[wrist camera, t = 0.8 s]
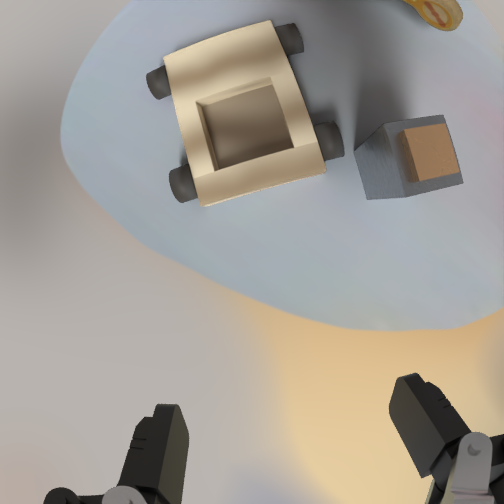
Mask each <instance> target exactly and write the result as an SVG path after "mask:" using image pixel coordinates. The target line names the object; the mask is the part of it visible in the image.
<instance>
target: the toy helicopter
mask: <svg viewBox="0 0 504 504" xmlns="http://www.w3.org/2000/svg"><path fill="white" fill-rule="evenodd" d="M402 1H404V2H406V3H407V4H409V5H411V6H412V7H413V8H414V9H415V10H416V11H417V12H418V14H419V15H420V16H421V17H422V19H423V20H425V21H426V22H427V23H428V24H430V25H431V26H433V27H435V28H437V29H439V30H442V31H453V30H455V29H456V28H457V27H458V26H459V24H460V23H461V21H462V19H463V12H462V9H461V7H460V5H459V4H458V3H457V1H456V0H402Z"/></svg>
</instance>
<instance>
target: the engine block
mask: <svg viewBox="0 0 504 504" xmlns="http://www.w3.org/2000/svg"><path fill="white" fill-rule="evenodd" d="M354 155H355V159H356V162H357V165H358V169H359V172H360V175H361V179H362V183H363V186H364V190H365V194H366V197H367V200H372V199H387V198H404V197H409V196H413V195H417V194H421V193H426V192H430V191H434V190H438V189H442V188H446V187H450V186H455V185H459V184H463V179H462V175H461V171H460V167H459V163H458V159H457V156H456V152H455V149H454V146H453V142H452V139H451V136H450V133H449V130H448V127H447V124H446V121H445V118H444V115H435V116H428V117H421V118H414V119H407V120H401V121H395V122H389V123H384V124H383V125H382V126H381V127H379V128H378V129H377V130H376V131H375V132H374V133H373V134H372V135H371V136H370V137H369V138H368V139H367V140H366V141H365V142H364V143H363V144H362V145H361V146H360V147H359V148H358V149H356V150H355V151H354Z"/></svg>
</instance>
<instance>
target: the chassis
mask: <svg viewBox="0 0 504 504" xmlns="http://www.w3.org/2000/svg"><path fill="white" fill-rule="evenodd" d="M303 51H304V47H303V42H302V39H301V36H300V33H299V31H298V29H297V27H296V25H295V24H294V23H292V24H287V25H283V26H278V27H275V29H274V27H273V25H272V23H271V21H270V20H268V21H264V22H260V23H256V24H253V25H249V26H246V27H242V28H239V29H236V30H232V31H229V32H226V33H223V34H220V35H217V36H214V37H211V38H209V39H206V40H203V41H201V42H198V43H195V44H193V45H190V46H188V47H185V48H183V49H181V50H178V51H176V52H174V53H171V54H169V55H167V56H165V57H163V58H164V62H165V65H164V66H162V67H160V68H158V69H156V70H153V71H151V72H149V73H147V75H146V80H147V84H148V87H149V89H150V91H151V93H152V94H153V96H154V97H155V98H156V99H158V100H160V99H162V98H164V97H166V96H169V95H171V94H172V97H173V101H174V106H175V110H176V114H177V118H178V122H179V126H180V130H181V134H182V138H183V142H184V146H185V150H186V154H187V158H188V161H189V164H186V165H184V166H181V167H178V168H176V169H173V170H171V171H170V173H169V182H170V186H171V190H172V192H173V194H174V196H175V198H176V199H177V200H178V201H179V202H180V203H184V202H187V201H189V200H192V199H195V198H198V199H199V202H200V206H211V205H214V204H217V203H220V202H224V201H227V200H230V199H233V198H237V197H240V196H244V195H247V194H250V193H254V192H257V191H261V190H264V189H268V188H271V187H275V186H278V185H282V184H286V183H289V182H293V181H297V180H300V179H304V178H308V177H312V176H316V175H320V174H324V173H325V172H326V166H325V163H324V161H326V160H330V159H335V158H339V157H343V156H344V145H343V141H342V137H341V134H340V131H339V129H338V127H337V125H336V123H335V122H334V121H331V122H326V123H322V124H318V125H314V126H312V123H311V120H310V117H309V114H308V111H307V109H306V106H305V103H304V100H303V98H302V95H301V92H300V90H299V87H298V84H297V82H296V79H295V77H294V74H293V72H292V69H291V67H290V64H289V62H288V59H287V57H286V56H288V55H292V54H296V53H301V52H303Z"/></svg>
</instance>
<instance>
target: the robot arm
mask: <svg viewBox="0 0 504 504" xmlns="http://www.w3.org/2000/svg"><path fill="white" fill-rule="evenodd" d="M389 414H390V417H391V419H392V421H393V423H394V425H395V427H396V429H397V431H398V433H399V434H400V437H401V438H402V440H403V442H404V444H405V446H406V448H407V450H408V452H409V454H410V456H411V458H412V460H413V462H414V464H415V466H416V468H417V470H418V472H419V474H420V476H421V478H424V477H426V476H428V475H431V474H432V476H433V478H434V479H433V480H432V482H431V486H430V489H429V492H428V495H427V499H426V502H425V504H504V434H502V435H498V436H494V437H488V436H486V435H485V434H483V433H480V432H471V430H470V429H469V428H468V426H467V425H466V424H465V422H464V421H463V419H462V418H461V417H460V415H459V414H458V413H457V411H456V410H455V409H454V407H453V406H451V403H450V402H449V401H448V399H446V397H445V395H444V394H443V393H442V391H441V390H440V389H439V388H438V387H437V386H435V385H433V384H432V383H430V382H426V383H425V382H424V381H423V379H422V378H421V377H420V375H419V374H417V373H413V374H409V375H406V376H402V377H399V378H398V379H397V380H396V383H395V387H394V390H393V394H392V397H391V400H390V403H389ZM132 438H133V440H131V443H130V449H129V450H128V453H127V456H126V460H125V463H124V466H123V470H122V473H121V477H120V480H119V482H118V484H117V486H116V487H113V488H111V489H110V490H108V491H107V492H106V493H105V494H103V495H95V496H94V495H92V496H77V495H76V494H75V493H74V492H73V491H71V490H70V489H67V488H61V487H59V488H55V489H53V490H51V491H50V492H49V493H48V494H47V495H46V497H45V500H44V503H43V504H181V501H182V492H183V485H184V477H185V469H186V462H187V454H188V447H189V433H188V429H187V426H186V423H185V420H184V418H183V415H182V412H181V409H180V407H179V405H177V404H157V405H156V408H155V411H154V414H153V417H144V418H143V419H142V420H141V421H140V422H139V424H138V425H137V426H136V428H135V431H134V434H133V437H132Z"/></svg>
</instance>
